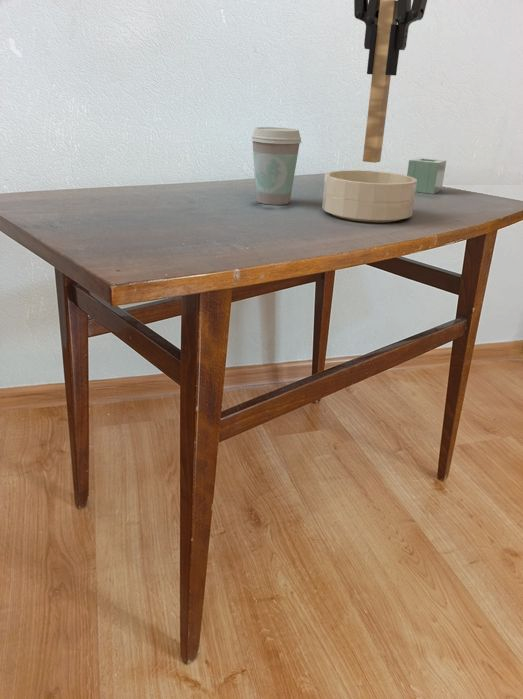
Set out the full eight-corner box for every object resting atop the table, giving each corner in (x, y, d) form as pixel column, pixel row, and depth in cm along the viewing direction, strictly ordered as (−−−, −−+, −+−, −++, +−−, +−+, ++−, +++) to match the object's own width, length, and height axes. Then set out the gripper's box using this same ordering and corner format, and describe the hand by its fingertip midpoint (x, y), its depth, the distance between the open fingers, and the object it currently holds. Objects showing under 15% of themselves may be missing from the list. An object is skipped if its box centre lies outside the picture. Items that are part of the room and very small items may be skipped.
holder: (441, 190, 123) (446, 160, 121) (433, 194, 118) (438, 162, 116) (413, 187, 126) (417, 157, 123) (404, 190, 121) (408, 159, 118)
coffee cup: (238, 200, 103) (240, 127, 98) (271, 195, 109) (274, 126, 104) (275, 208, 98) (279, 131, 93) (307, 203, 104) (312, 130, 99)
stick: (380, 161, 94) (400, 1, 85) (375, 162, 92) (394, -1, 83) (367, 160, 95) (385, 1, 85) (362, 161, 93) (380, -1, 84)
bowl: (422, 213, 99) (428, 177, 97) (394, 228, 88) (399, 187, 85) (343, 202, 106) (346, 167, 103) (307, 215, 94) (310, 176, 92)
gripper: (340, -123, 79) (324, 72, 89) (455, -137, 72) (424, 75, 82) (361, -107, 85) (344, 73, 94) (469, -119, 78) (439, 77, 88)
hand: (381, 74), depth 88 cm, fingers closed on stick, 2 cm apart
